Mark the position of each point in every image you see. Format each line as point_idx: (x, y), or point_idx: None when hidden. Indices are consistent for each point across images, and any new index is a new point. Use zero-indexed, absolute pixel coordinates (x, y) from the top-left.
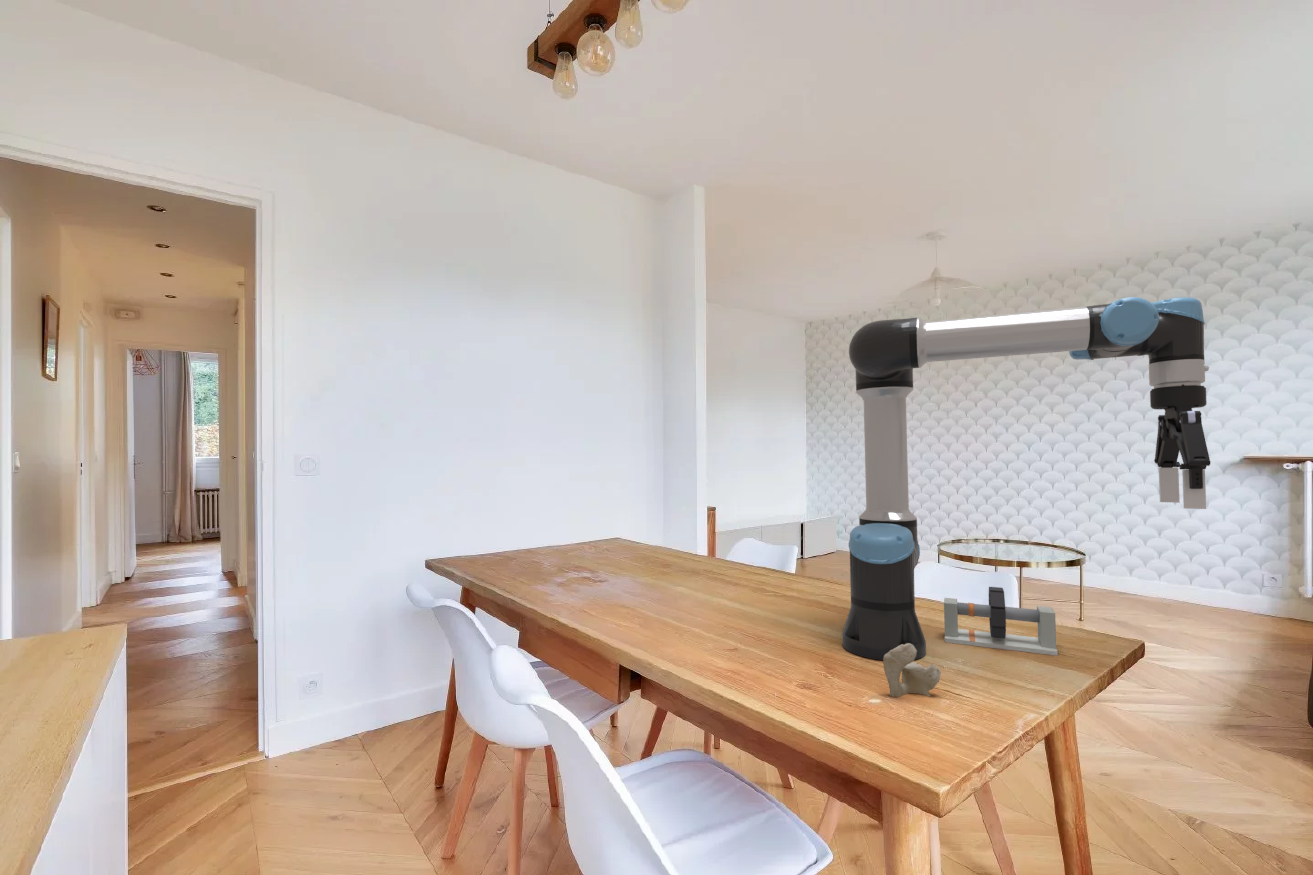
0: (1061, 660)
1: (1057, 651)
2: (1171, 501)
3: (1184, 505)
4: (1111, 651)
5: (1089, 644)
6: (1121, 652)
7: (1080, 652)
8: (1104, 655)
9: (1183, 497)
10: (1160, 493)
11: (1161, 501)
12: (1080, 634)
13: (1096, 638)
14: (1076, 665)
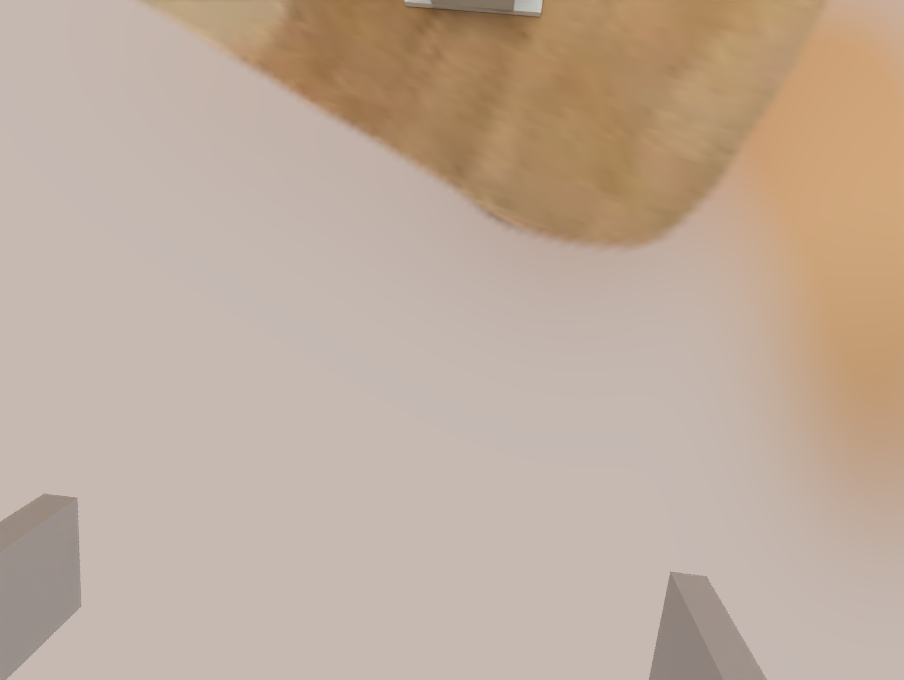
0: (363, 7)
1: (405, 1)
2: (662, 641)
3: (44, 506)
4: (506, 177)
5: (562, 134)
6: (504, 202)
7: (465, 84)
8: (457, 145)
9: (8, 540)
10: (701, 623)
11: (669, 578)
12: (676, 137)
13: (640, 175)
14: (331, 39)
